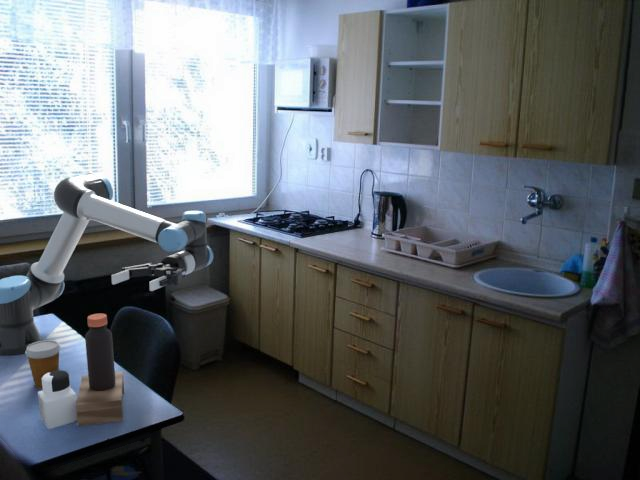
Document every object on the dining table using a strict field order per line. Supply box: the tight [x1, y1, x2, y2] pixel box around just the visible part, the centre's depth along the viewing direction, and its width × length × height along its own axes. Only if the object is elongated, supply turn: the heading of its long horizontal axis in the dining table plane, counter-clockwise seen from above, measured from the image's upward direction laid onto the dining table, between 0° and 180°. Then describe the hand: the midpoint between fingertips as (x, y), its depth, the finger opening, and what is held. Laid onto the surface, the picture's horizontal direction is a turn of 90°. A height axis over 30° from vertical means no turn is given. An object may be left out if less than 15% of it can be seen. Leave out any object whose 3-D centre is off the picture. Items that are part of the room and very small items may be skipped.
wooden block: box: [76, 371, 125, 428], centre depth 169 cm, size 18×11×6 cm, turn 16°
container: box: [37, 369, 78, 430], centre depth 162 cm, size 8×8×13 cm
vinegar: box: [84, 313, 116, 391], centre depth 167 cm, size 7×7×20 cm
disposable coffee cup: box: [25, 339, 62, 389], centre depth 183 cm, size 10×10×12 cm
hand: (131, 283), depth 176 cm, fingers open, 13 cm apart
